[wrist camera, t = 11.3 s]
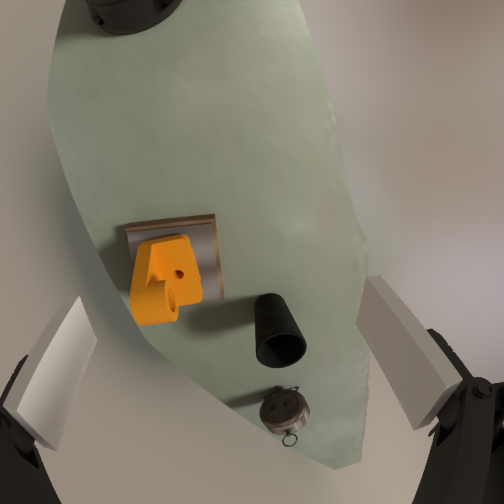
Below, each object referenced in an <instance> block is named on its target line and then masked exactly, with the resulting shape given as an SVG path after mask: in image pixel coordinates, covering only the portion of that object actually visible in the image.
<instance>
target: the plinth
mask: <svg viewBox="0 0 504 504" xmlns="http://www.w3.org/2000/svg"><path fill="white" fill-rule="evenodd" d="M124 229H125V234H126V239H127V243H128V248H129V252H130V256H131V260H132V264H133V268H134V266H135V261H136V255H137V250H138V246H139V245H140V243H141V242H144V241H149V240H154V239H158V238H163V237H168V236H174V235H179V234H185V235H187V236H188V237H189V240H190V244H191V247H193V251H194V255H195V259H196V263H197V267H198V270H199V274H200V278H201V285H202V289H203V297H202V301H213V300H224V292H223V283H222V275H221V266H220V258H219V249H218V239H217V230H216V220H215V214H210V215H199V216H189V217H180V218H170V219H161V220H153V221H144V222H136V223H129V224H128V225H127V226H126V227H125V228H124ZM180 271H181V270H180Z"/></svg>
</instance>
